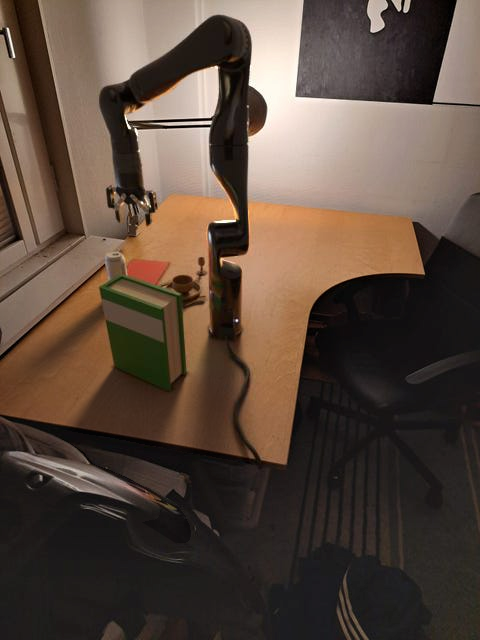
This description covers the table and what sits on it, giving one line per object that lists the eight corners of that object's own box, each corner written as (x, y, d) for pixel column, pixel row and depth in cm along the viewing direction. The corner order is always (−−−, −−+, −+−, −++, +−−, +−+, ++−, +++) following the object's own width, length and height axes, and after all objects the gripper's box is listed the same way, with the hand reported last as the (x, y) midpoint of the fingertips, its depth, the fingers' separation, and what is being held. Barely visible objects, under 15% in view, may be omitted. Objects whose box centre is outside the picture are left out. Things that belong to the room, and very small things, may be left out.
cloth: (152, 290, 141) (152, 289, 141) (112, 286, 143) (112, 285, 142) (169, 263, 157) (169, 262, 157) (133, 260, 159) (133, 259, 159)
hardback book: (186, 373, 108) (181, 293, 94) (169, 391, 103) (160, 309, 89) (133, 351, 115) (121, 273, 101) (114, 366, 110) (98, 287, 96)
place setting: (153, 287, 143) (152, 271, 140) (201, 270, 154) (201, 255, 150) (182, 309, 132) (181, 293, 129) (232, 289, 143) (232, 274, 139)
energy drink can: (113, 291, 140) (105, 250, 132) (131, 290, 141) (125, 249, 132) (109, 300, 135) (102, 258, 127) (128, 300, 136) (122, 258, 127)
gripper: (97, 169, 112) (106, 226, 122) (148, 174, 110) (153, 231, 120) (109, 161, 118) (117, 216, 128) (157, 165, 116) (162, 221, 126)
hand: (134, 223), depth 124 cm, fingers open, 8 cm apart
